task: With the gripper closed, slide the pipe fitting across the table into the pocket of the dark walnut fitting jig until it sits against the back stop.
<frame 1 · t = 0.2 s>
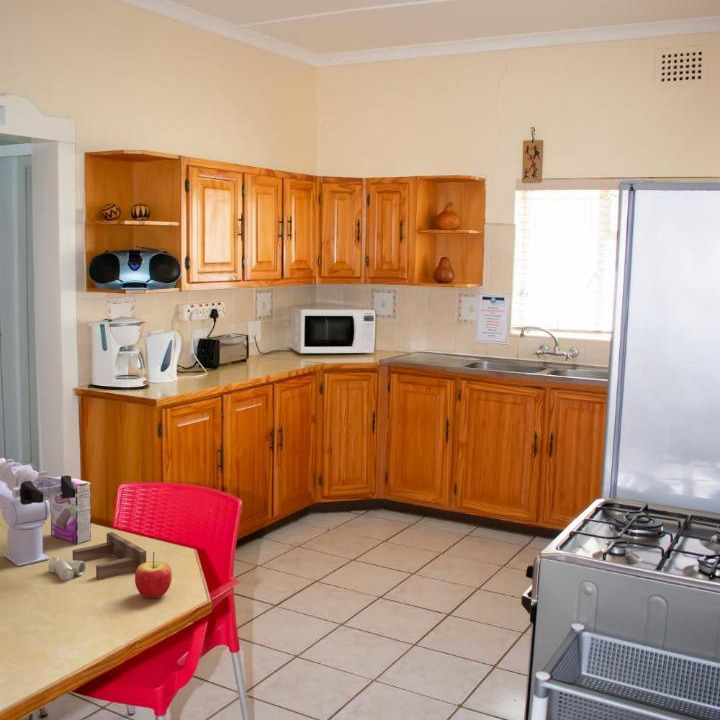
hand: (58, 495, 199), 21 cm above the table, tool horizontal, fingers open, 7 cm apart
candy bar box: (70, 539, 232), on the table
pipe fitting: (63, 577, 206), on the table
fitting jig: (85, 570, 210), on the table
apple: (153, 596, 196), on the table
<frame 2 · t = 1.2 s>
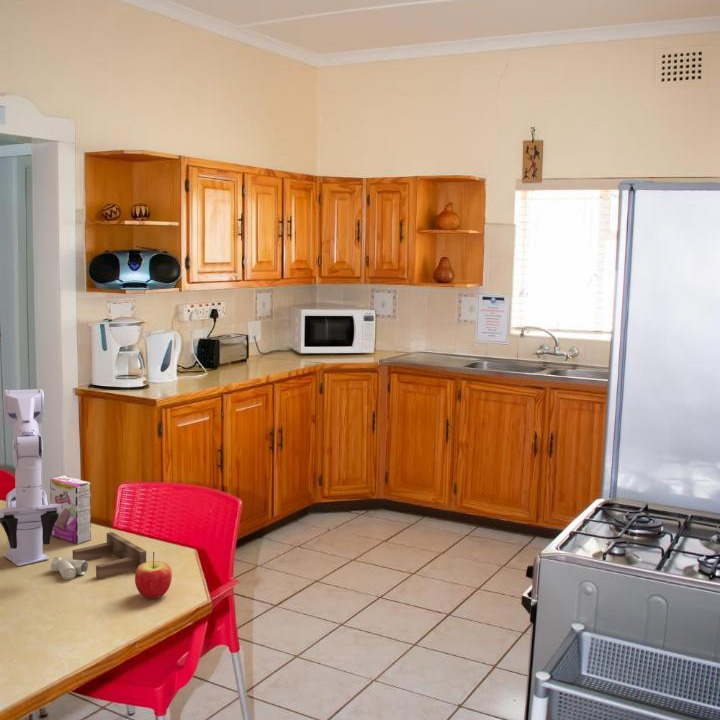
hand: (30, 546, 198), 10 cm above the table, tool tilted 15°, fingers open, 7 cm apart
nothing on the table moved.
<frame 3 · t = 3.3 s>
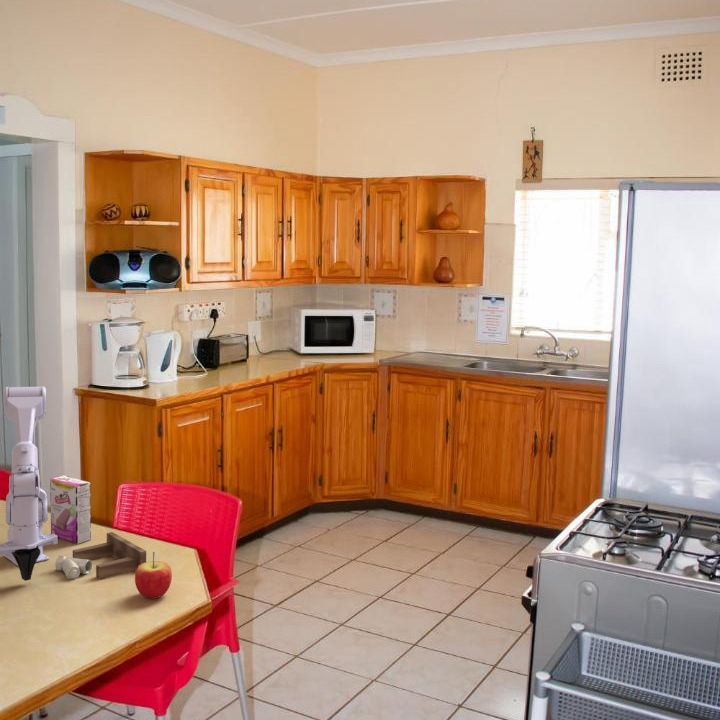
hand: (26, 578, 200), 1 cm above the table, tool pointing down, fingers closed
pipe fitting: (70, 575, 207), on the table
everything else where it was.
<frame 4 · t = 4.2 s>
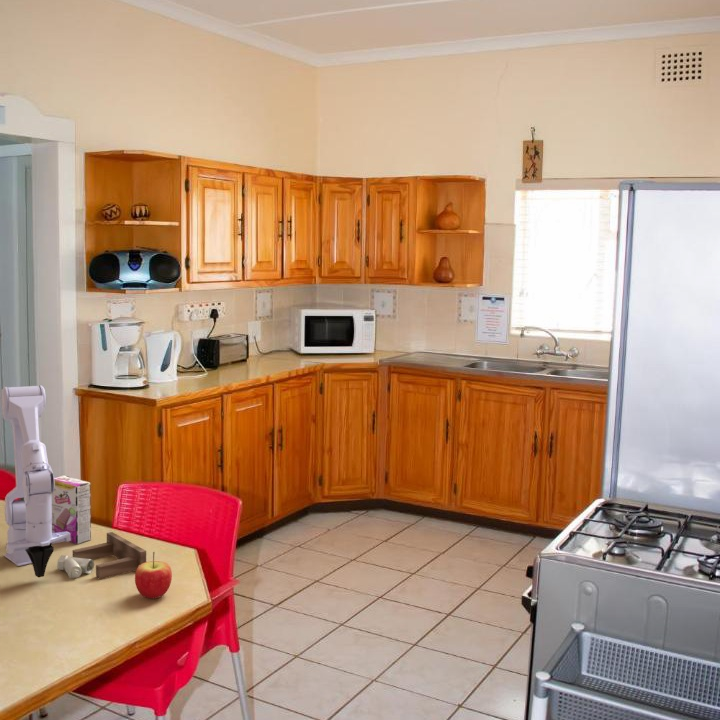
hand: (39, 575, 202), 1 cm above the table, tool pointing down, fingers closed
nothing on the table moved.
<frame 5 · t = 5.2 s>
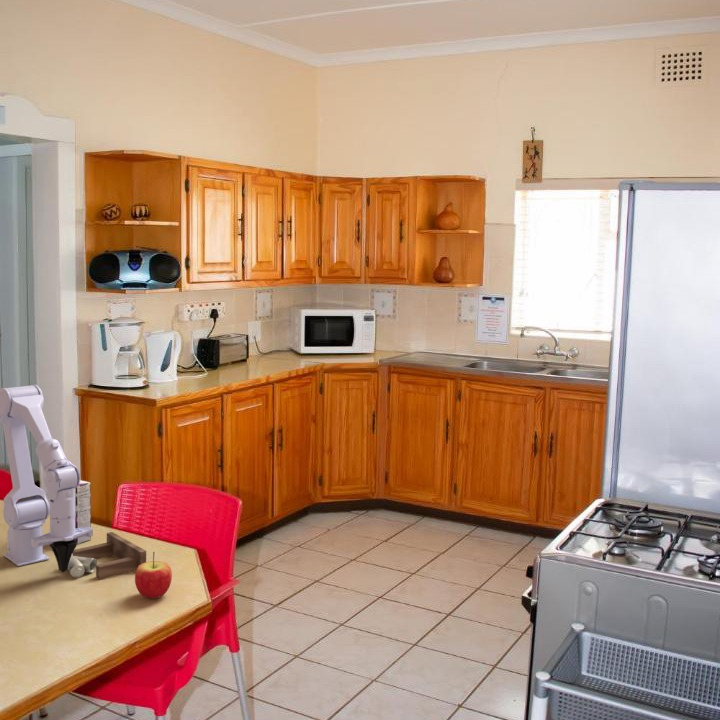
hand: (63, 570, 206), 1 cm above the table, tool pointing down, fingers closed
pipe fitting: (74, 574, 208), on the table, touching gripper
everything else where it was.
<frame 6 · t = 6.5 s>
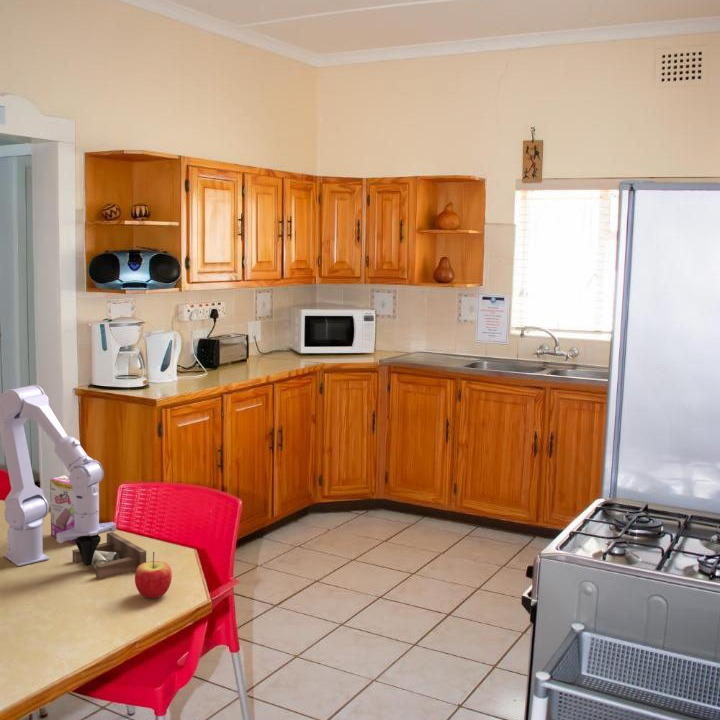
hand: (87, 564, 210), 1 cm above the table, tool pointing down, fingers closed
pipe fitting: (97, 568, 213), on the table, touching gripper
everything else where it was.
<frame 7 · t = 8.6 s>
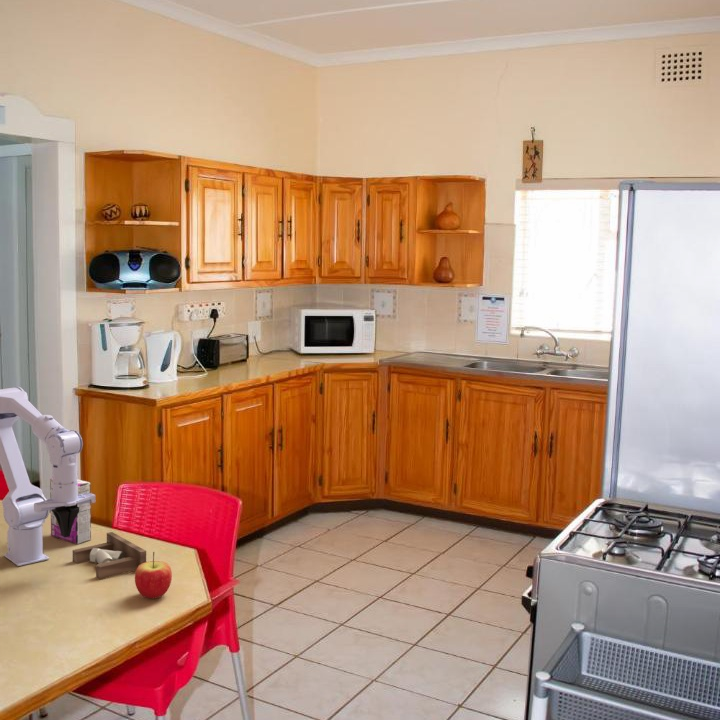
hand: (65, 535, 207), 9 cm above the table, tool pointing down, fingers closed
pipe fitting: (104, 567, 214), on the table
everything else where it was.
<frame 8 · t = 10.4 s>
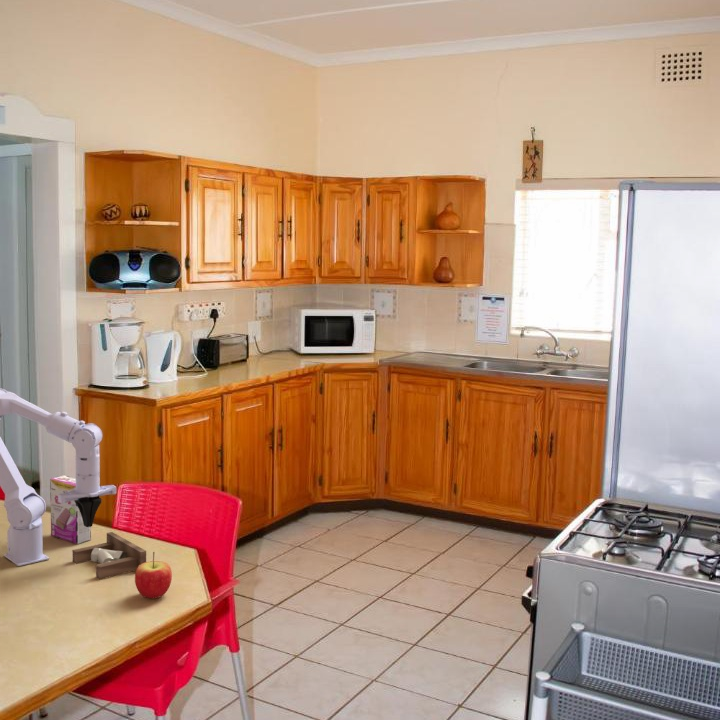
hand: (88, 525, 214), 9 cm above the table, tool pointing down, fingers closed
nothing on the table moved.
at the end: pipe fitting inside the target area on the fitting jig (0.4 cm from its centre), point -0.5 cm above the fitting jig's base; pipe fitting moved 11.3 cm from its start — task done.
